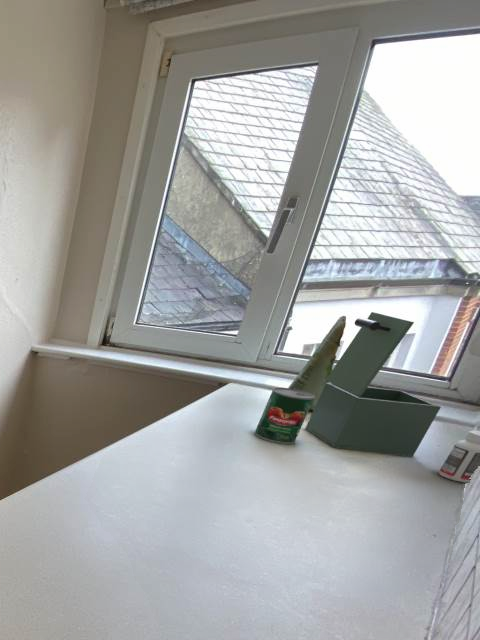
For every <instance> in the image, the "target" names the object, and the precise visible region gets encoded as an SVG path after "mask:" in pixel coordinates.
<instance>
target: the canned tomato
mask: <svg viewBox="0 0 480 640" xmlns="http://www.w3.org/2000/svg"><path fill="white" fill-rule="evenodd" d="M314 399H315V396H314V395H313V394H310V393H308V392H304V391H300V390H295V389H289V388H288V387H274V388H273V389H272V390H271V393H270V394H269V398H268V400H267V402H266V405H265V407H264V409H263V412H262V414H261V417H260V418H259V422H258V424H257V426H256V428H255V431H254V433H253V434H254V436H256V437H258V438H259V439H261V440H265V441H267V442H271V443H276V444H283V445H291V444H294V443H296V439H297V437H298V436H299V433H300V431H301V429H302V427H303V425H304V422H305V420H306V419H307V416H308V414H309V412H310V407H311V405H312V403H313V401H314Z"/></svg>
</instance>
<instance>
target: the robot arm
mask: <svg viewBox="0 0 480 640" xmlns="http://www.w3.org/2000/svg"><path fill="white" fill-rule="evenodd" d="M468 353H469V354H470V355H472V356H477V357H480V327H479V328H478V329H477V331H476V332H475V334H474V336H473V338H472V339H471V341H470V343H469V344H468ZM477 382H478V383H480V376H479V377H478V379H477Z"/></svg>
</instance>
